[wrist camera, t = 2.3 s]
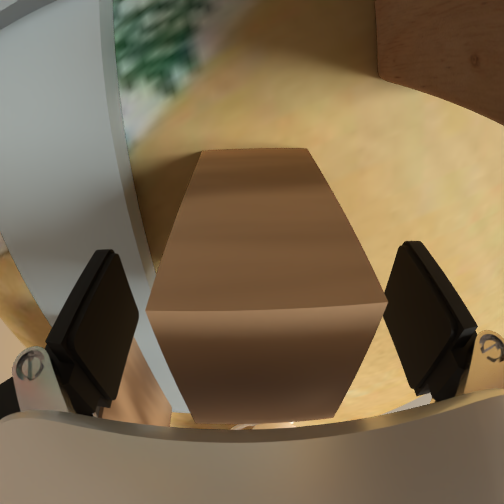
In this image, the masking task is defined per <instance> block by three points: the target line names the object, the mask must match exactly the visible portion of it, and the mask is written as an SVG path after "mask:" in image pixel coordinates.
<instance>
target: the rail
mask: <svg viewBox="0 0 504 504" xmlns="http://www.w3.org/2000/svg"><path fill="white" fill-rule="evenodd" d="M0 232H1V234H2V237H3V239H4V241H5V243H6V245H7V248H8V250H9V252H10V254H11V256H12V258H13V260H14V262H15V264H16V266H17V268H18V270H19V272H20V274H21V276H22V278H23V280H24V281H25V283H26V285H27V287H28V289H29V291H30V292H31V294H32V296H33V298H34V299H35V301H36V303H37V304H38V306H39V308H40V309H41V311H42V313H43V314H44V316H45V317H46V319H47V321H48V322H49V324H50V325H51V327H53V325H54V323H55V321H56V319H57V317H58V315H59V313H60V311H61V309H62V308H63V306H64V304H65V302H66V300H67V298H68V296H69V295H70V293H71V291H72V289H73V287H74V286H75V284H76V282H77V280H78V279H79V277H80V275H81V274H82V272H83V270H84V269H85V267H86V265H87V264H88V262H89V260H90V259H91V257H92V255H93V254H94V252H95V251H96V250H102V249H112V250H113V251H114V252H115V253H117V254H119V256H120V259H121V262H122V265H123V268H124V271H125V274H126V277H127V280H128V283H129V286H130V289H131V291H132V294H133V297H134V300H135V303H136V305H137V308H138V311H139V320H138V324H137V327H136V330H135V333H134V338H135V340H136V342H137V344H138V346H139V348H140V350H141V352H142V354H143V356H144V358H145V360H146V362H147V364H148V365H149V367H150V369H151V371H152V373H153V375H154V377H155V379H156V380H157V382H158V384H159V386H160V388H161V389H162V391H163V393H164V395H165V396H166V398H167V400H168V401H169V403H170V405H171V407H172V412H179V413H190V411H189V409H188V407H187V405H186V403H185V401H184V399H183V397H182V395H181V393H180V391H179V389H178V387H177V385H176V383H175V380H174V378H173V376H172V374H171V372H170V370H169V367H168V365H167V363H166V360H165V358H164V356H163V354H162V351H161V349H160V347H159V344H158V342H157V339H156V337H155V334H154V332H153V329H152V327H151V324H150V322H149V319H148V317H147V314H146V311H145V309H146V306H147V303H148V299H149V296H150V293H151V290H152V286H153V283H154V280H155V277H156V273H155V269H154V265H153V262H152V258H151V254H150V250H149V247H148V243H147V239H146V235H145V231H144V226H143V222H142V218H141V214H140V209H139V205H138V200H137V195H136V191H135V186H134V181H133V176H132V171H131V165H130V160H129V155H128V149H127V143H126V137H125V130H124V124H123V117H122V110H121V102H120V94H119V86H118V76H117V66H116V55H115V41H114V23H113V0H0Z"/></svg>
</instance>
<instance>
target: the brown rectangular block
mask: <svg viewBox="0 0 504 504" xmlns="http://www.w3.org/2000/svg"><path fill="white" fill-rule="evenodd" d="M387 304H388V301H387V298H386V296H385V294H384V292H383V290H382V287H381V285H380V283H379V281H378V279H377V277H376V274H375V272H374V270H373V268H372V266H371V264H370V262H369V260H368V258H367V256H366V254H365V252H364V250H363V248H362V246H361V244H360V242H359V240H358V238H357V236H356V234H355V232H354V230H353V228H352V226H351V225H350V223H349V221H348V219H347V217H346V215H345V213H344V211H343V210H342V208H341V206H340V204H339V202H338V201H337V199H336V197H335V195H334V193H333V192H332V190H331V188H330V186H329V185H328V183H327V181H326V179H325V178H324V176H323V174H322V173H321V171H320V169H319V168H318V166H317V164H316V163H315V161H314V159H313V158H312V156H311V154H310V153H309V151H308V149H304V148H259V149H227V150H208V151H202V153H201V155H200V157H199V160H198V162H197V165H196V167H195V170H194V172H193V175H192V177H191V180H190V182H189V185H188V187H187V190H186V192H185V195H184V197H183V200H182V203H181V205H180V208H179V211H178V213H177V216H176V219H175V222H174V224H173V227H172V230H171V233H170V235H169V238H168V241H167V244H166V247H165V250H164V253H163V256H162V259H161V262H160V265H159V268H158V271H157V274H156V277H155V280H154V283H153V286H152V290H151V293H150V296H149V299H148V303H147V306H146V309H145V311H146V314H147V317H148V319H149V322H150V324H151V327H152V329H153V332H154V334H155V337H156V339H157V342H158V344H159V347H160V349H161V351H162V354H163V356H164V358H165V360H166V363H167V365H168V367H169V370H170V372H171V374H172V376H173V378H174V380H175V383H176V385H177V387H178V389H179V391H180V393H181V395H182V397H183V399H184V401H185V403H186V405H187V407H188V409H189V411H190V413H191V415H192V417H193V419H194V421H195V423H202V424H265V423H284V422H297V421H308V420H318V419H326V418H333V417H334V415H335V413H336V412H337V410H338V408H339V406H340V404H341V403H342V401H343V399H344V397H345V395H346V393H347V391H348V389H349V388H350V386H351V384H352V382H353V380H354V378H355V376H356V374H357V372H358V370H359V368H360V366H361V363H362V361H363V359H364V357H365V355H366V353H367V351H368V348H369V346H370V344H371V342H372V340H373V337H374V335H375V333H376V330H377V328H378V326H379V323H380V321H381V319H382V316H383V314H384V311H385V309H386V306H387Z"/></svg>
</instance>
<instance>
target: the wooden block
mask: <svg viewBox="0 0 504 504" xmlns="http://www.w3.org/2000/svg"><path fill="white" fill-rule="evenodd" d="M375 12H376V27H377V53H378V73H379V77H380V78H382V79H383V80H385V81H388V82H391V83H395V84H399V85H402V86H405V87H409V88H412V89H415V90H418V91H421V92H424V93H427V94H430V95H433V96H436V97H439V98H441V99H444V100H447V101H449V102H452V103H454V104H457V105H459V106H462V107H464V108H467V109H469V110H471V111H474V112H476V113H478V114H480V115H483V116H485V117H487V118H489V119H491V120H493V121H495V122H497V123H500V124H502V125H503V126H504V0H375Z"/></svg>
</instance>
